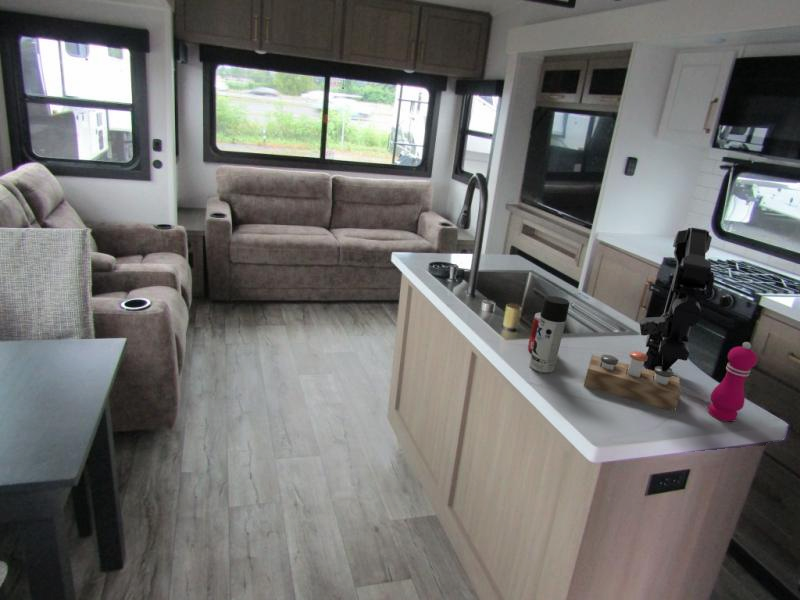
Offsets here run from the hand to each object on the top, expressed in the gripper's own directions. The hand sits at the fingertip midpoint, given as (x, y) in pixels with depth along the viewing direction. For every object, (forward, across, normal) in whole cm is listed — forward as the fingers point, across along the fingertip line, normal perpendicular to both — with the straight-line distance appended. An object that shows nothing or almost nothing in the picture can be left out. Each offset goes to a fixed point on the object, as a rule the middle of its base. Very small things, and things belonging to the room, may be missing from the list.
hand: (663, 370), depth 140 cm
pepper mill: (+8, -1, +15) cm, 17 cm away
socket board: (+8, 0, -6) cm, 10 cm away
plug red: (+4, 0, -6) cm, 8 cm away
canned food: (+8, -9, -31) cm, 34 cm away
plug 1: (+7, 0, -13) cm, 15 cm away
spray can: (+8, +1, -29) cm, 30 cm away
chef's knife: (+8, -10, +8) cm, 15 cm away
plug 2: (+7, 0, 0) cm, 7 cm away
